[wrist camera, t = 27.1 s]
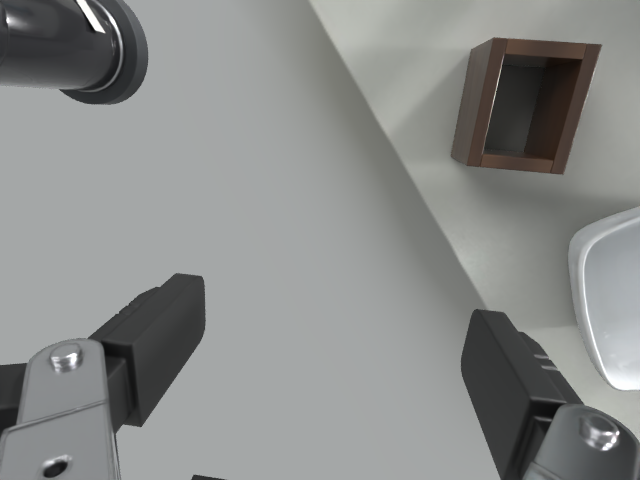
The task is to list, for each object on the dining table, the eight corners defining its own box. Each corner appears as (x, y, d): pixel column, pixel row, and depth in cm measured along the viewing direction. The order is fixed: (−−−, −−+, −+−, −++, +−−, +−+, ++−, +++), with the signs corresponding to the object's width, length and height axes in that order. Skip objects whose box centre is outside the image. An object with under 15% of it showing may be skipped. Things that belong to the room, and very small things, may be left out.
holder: (450, 156, 42) (466, 165, 35) (470, 49, 38) (493, 37, 32) (531, 164, 41) (563, 174, 35) (560, 55, 38) (602, 44, 31)
